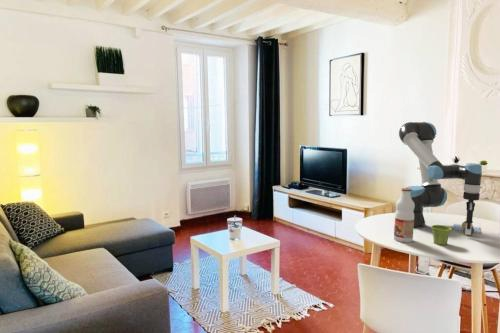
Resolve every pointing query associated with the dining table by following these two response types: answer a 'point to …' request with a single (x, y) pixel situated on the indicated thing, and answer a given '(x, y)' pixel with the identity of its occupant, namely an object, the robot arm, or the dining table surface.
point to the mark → (459, 227)
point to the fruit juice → (404, 217)
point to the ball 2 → (471, 230)
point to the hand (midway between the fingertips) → (467, 234)
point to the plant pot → (440, 234)
